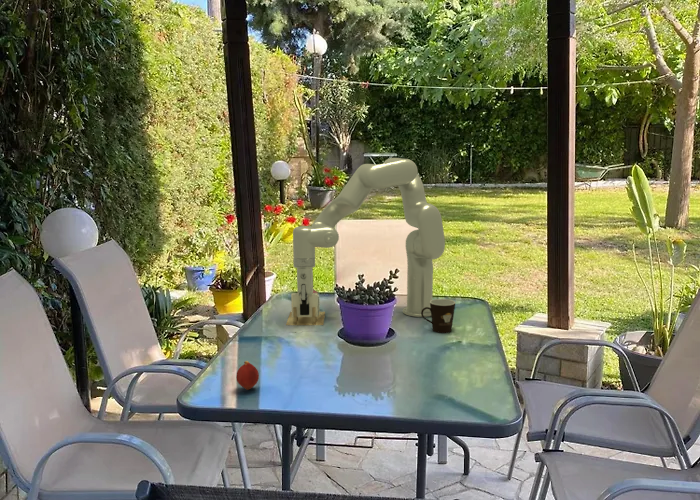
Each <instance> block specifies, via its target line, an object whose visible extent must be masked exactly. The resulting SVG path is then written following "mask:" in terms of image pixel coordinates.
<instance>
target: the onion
mask: <svg viewBox="0 0 700 500" xmlns="http://www.w3.org/2000/svg"><path fill="white" fill-rule="evenodd" d="M243 363H244V364H242V365H241V366H240V367H239V368H238V370H237V371H236V381H237V383H238V385H239V386H240V387H242V388H244V389H245V390H246V391H247V390H248V391H250V390H251V389H252V388H254V387H255V386H256V385H257V383H258V381H259V370H258V368H257V367H256V366H254V365H253V364H252V363H251V362H249V361H248V360H244V362H243Z"/></svg>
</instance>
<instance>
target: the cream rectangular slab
mask: <svg viewBox="0 0 700 500" xmlns="http://www.w3.org/2000/svg"><path fill="white" fill-rule="evenodd" d="M290 295H291V296H290V297H291V302H290V303H291V312H292V317H293V307H297V317H312V307H316V317H318V295H319V292H317V293H313V294H312V296H310V295H308V304H309V315H300V296H299V295H298V293H297V292H291V294H290ZM305 295H307V294H305ZM306 298H307V297H306Z"/></svg>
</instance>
